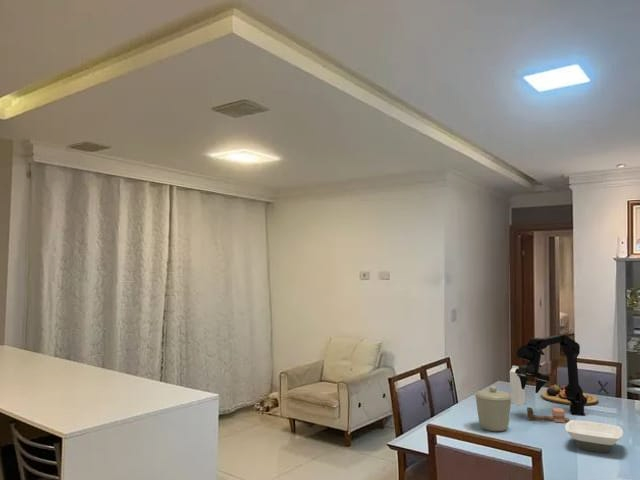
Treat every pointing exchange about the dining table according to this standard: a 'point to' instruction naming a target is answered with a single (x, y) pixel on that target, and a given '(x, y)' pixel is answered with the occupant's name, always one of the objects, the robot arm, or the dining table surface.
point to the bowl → (594, 435)
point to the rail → (536, 417)
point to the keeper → (558, 415)
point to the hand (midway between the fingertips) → (529, 391)
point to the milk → (516, 388)
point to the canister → (493, 409)
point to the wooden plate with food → (564, 396)
